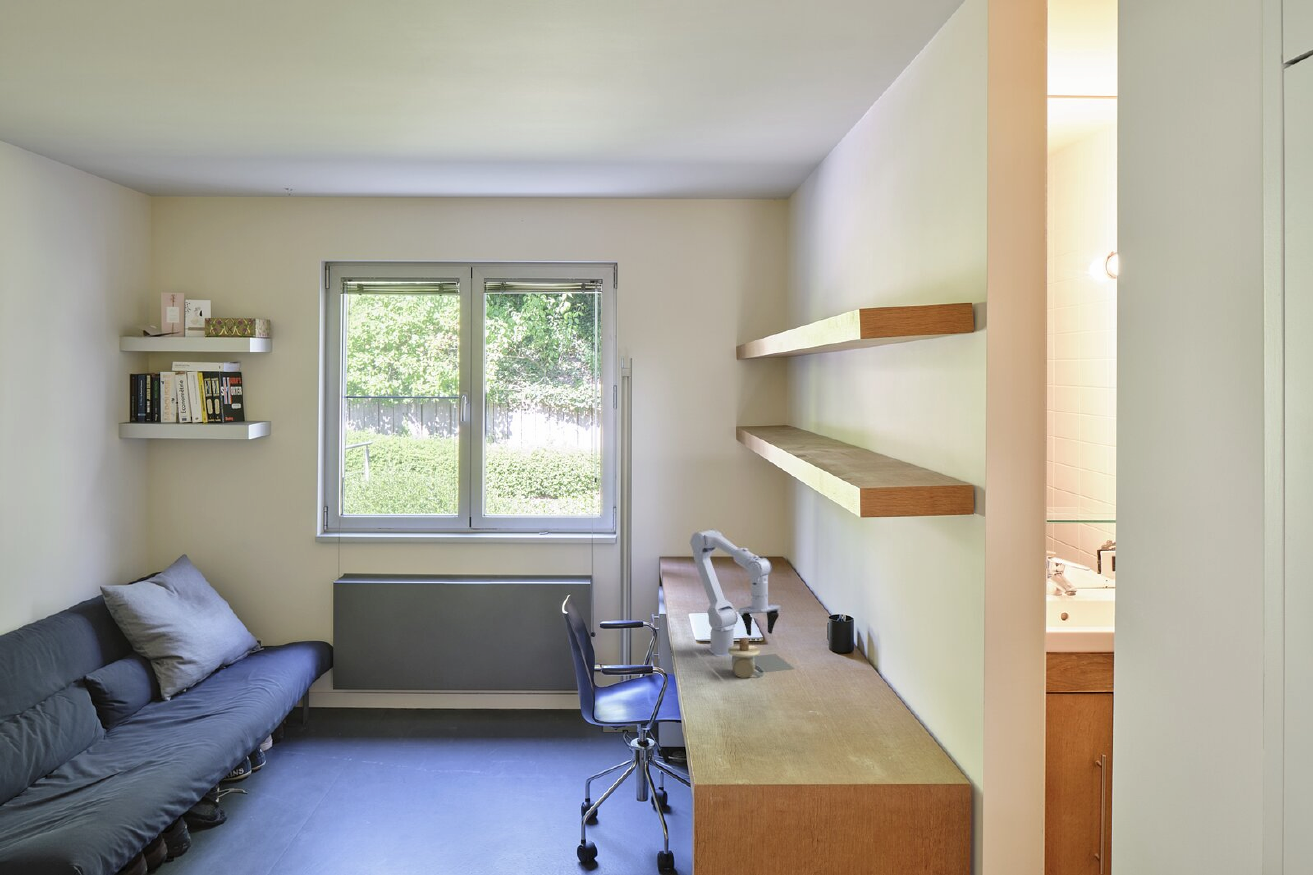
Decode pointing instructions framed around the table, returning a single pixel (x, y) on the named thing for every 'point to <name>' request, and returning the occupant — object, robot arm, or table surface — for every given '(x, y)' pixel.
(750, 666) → the ceramic mug
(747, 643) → the lid
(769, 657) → the mat
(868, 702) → the table surface
